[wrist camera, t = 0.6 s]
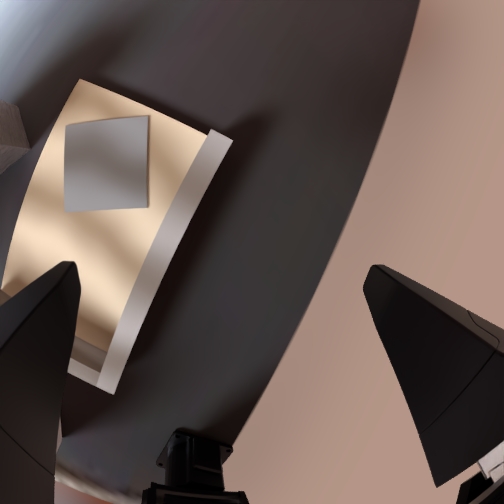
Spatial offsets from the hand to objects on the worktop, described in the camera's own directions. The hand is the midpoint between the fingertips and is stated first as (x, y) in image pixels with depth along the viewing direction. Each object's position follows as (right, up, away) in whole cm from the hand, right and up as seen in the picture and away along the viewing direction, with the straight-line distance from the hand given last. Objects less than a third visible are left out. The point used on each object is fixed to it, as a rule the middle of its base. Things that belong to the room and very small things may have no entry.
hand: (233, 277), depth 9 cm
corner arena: (-12, +2, +13) cm, 17 cm away
